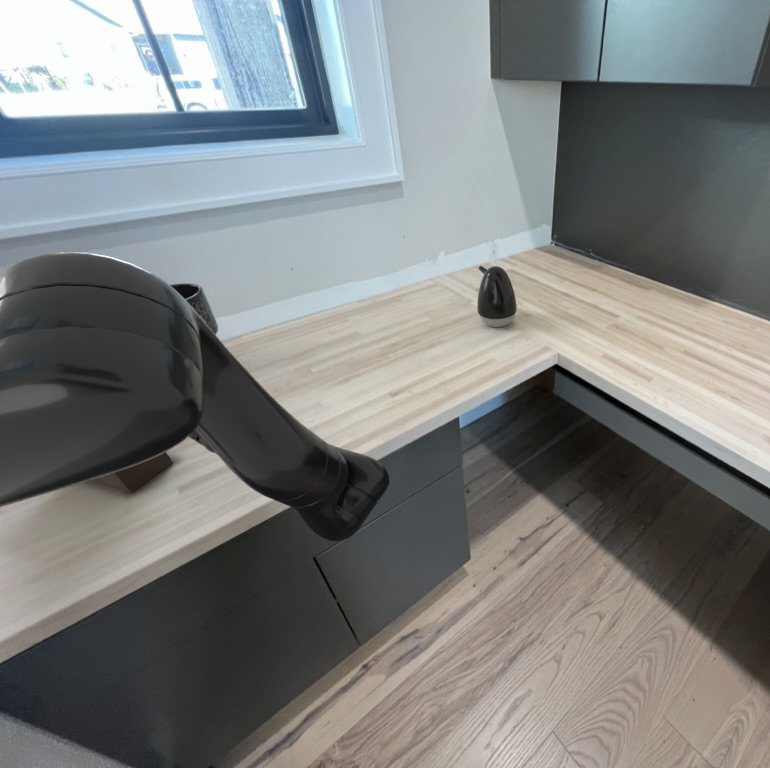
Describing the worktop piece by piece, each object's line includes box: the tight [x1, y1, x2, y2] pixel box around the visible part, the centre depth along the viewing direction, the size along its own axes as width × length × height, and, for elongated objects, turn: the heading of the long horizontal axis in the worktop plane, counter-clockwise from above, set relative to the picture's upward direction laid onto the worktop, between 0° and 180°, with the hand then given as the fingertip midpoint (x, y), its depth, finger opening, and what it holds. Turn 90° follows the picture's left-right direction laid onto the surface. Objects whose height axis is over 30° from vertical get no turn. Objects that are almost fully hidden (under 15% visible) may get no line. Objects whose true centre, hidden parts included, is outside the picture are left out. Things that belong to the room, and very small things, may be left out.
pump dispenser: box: [476, 265, 518, 328], centre depth 106 cm, size 10×10×15 cm
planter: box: [169, 282, 219, 336], centre depth 90 cm, size 13×13×18 cm
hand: (112, 347), depth 49 cm, fingers open, 8 cm apart
